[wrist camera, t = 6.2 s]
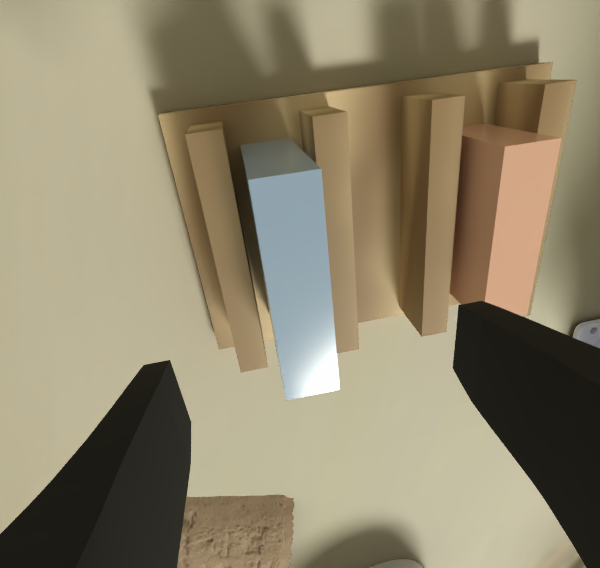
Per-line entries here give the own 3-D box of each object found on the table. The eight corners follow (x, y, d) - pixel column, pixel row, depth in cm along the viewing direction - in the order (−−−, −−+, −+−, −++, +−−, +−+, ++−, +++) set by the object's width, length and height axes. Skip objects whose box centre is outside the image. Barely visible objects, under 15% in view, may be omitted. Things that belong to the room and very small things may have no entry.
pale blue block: (289, 137, 16) (321, 168, 11) (309, 306, 20) (339, 389, 15) (240, 145, 16) (248, 179, 11) (269, 313, 20) (285, 400, 14)
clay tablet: (145, 483, 26) (137, 525, 23) (298, 477, 28) (305, 515, 25) (146, 603, 32) (140, 646, 30) (271, 591, 34) (274, 629, 32)
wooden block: (483, 123, 17) (561, 138, 13) (468, 269, 20) (527, 315, 16) (439, 129, 17) (505, 146, 13) (431, 275, 20) (481, 324, 16)
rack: (539, 63, 17) (608, 60, 14) (504, 286, 22) (549, 319, 19) (160, 113, 16) (145, 122, 13) (219, 339, 21) (218, 385, 18)
